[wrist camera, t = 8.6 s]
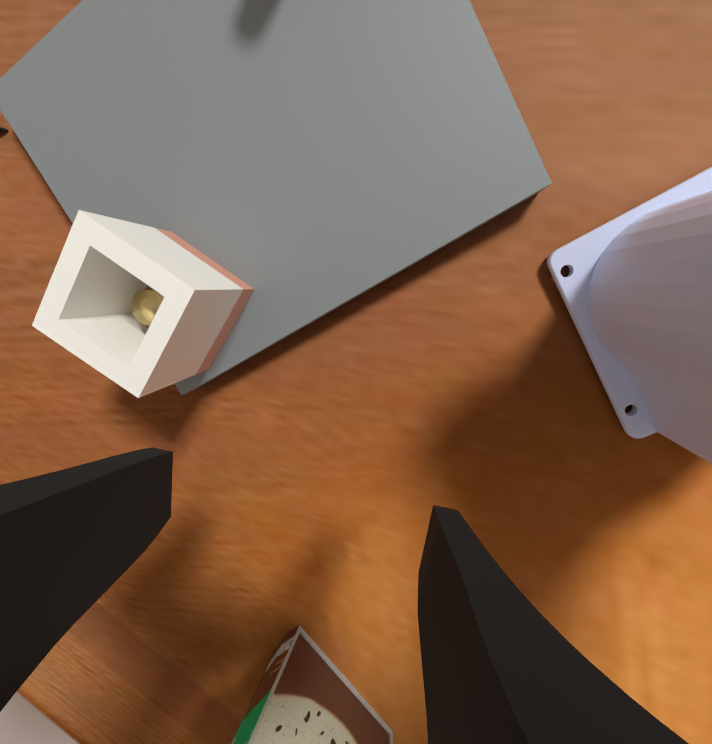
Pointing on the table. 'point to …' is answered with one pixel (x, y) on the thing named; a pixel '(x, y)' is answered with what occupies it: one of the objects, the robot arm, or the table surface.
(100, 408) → the table surface
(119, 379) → the sleeve
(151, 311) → the brass pin
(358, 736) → the food container
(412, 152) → the pin board
